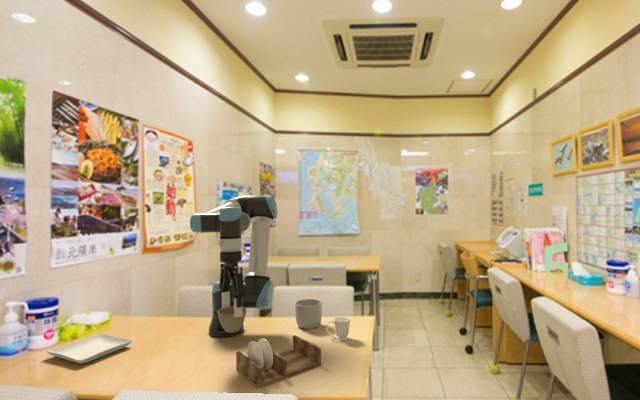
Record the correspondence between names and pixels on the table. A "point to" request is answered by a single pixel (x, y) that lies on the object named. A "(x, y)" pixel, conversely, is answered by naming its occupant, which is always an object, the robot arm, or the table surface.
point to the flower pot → (231, 319)
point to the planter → (308, 313)
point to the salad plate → (90, 348)
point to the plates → (261, 353)
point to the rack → (281, 363)
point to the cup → (341, 327)
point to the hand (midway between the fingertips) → (232, 313)
